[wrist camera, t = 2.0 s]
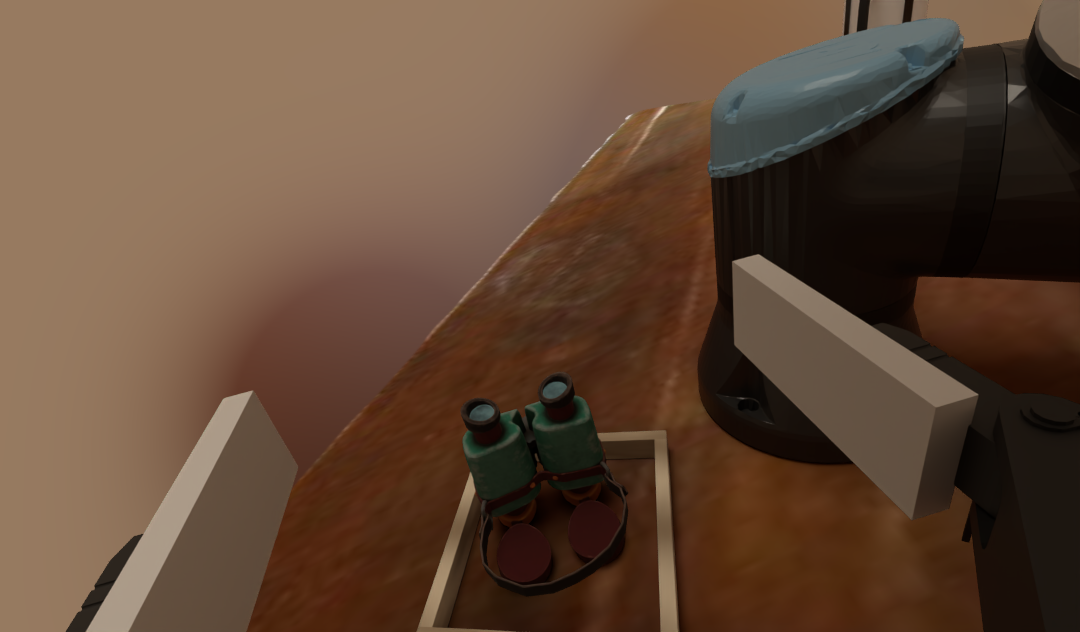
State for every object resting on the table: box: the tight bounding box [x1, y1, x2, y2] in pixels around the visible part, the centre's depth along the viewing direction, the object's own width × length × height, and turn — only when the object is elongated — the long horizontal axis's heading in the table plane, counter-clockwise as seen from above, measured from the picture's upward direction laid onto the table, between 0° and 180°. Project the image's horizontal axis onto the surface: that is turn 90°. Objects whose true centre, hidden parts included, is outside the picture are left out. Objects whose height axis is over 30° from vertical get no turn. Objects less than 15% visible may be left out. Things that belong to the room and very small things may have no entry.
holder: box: [417, 430, 680, 632], centre depth 32 cm, size 15×14×2 cm
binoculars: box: [461, 372, 628, 596], centre depth 30 cm, size 9×11×10 cm
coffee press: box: [842, 0, 929, 36], centre depth 87 cm, size 17×16×30 cm
